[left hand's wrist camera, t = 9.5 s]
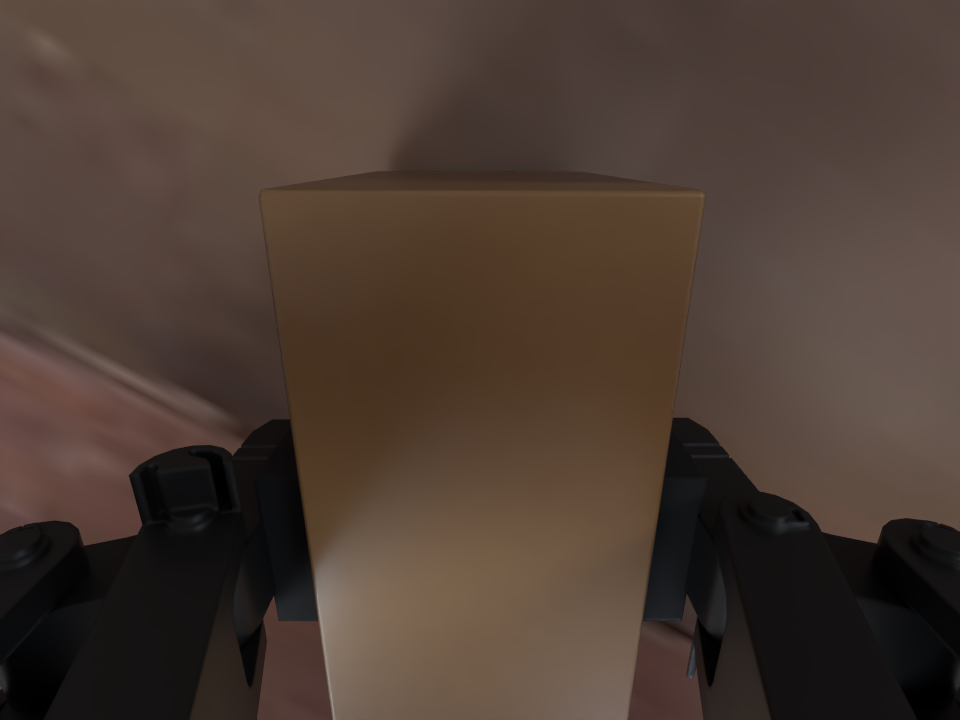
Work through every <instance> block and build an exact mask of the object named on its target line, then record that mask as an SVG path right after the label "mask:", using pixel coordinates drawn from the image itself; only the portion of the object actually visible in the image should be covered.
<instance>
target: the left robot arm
mask: <svg viewBox="0 0 960 720" xmlns="http://www.w3.org/2000/svg"><path fill="white" fill-rule="evenodd" d="M129 477H130V481H131V485H132V488H133V492H134V496H135V499H136V503H137V506H138V510H139V514H140V517H141V521H142V524H143V525H142V527H141V529H140V531H139V533H138V535H135V536H131V537H127V538H122V539H117V540H112V541H107V542H102V543H97V544H92V545H87V546H84V544H83V541H82V538H81V535H80V532H79V529H78V528H76V527H75V526H74V525H73V524H71V523H69V522H61V521H48V522H40V523H32V524H27V525H24V526H23V527H21V526H20V527H17V528H14V529H11V530H8V531H7V532H5V533H3V534H1V535H0V685H1V688H2V689H1V690H0V720H257V713H258V706H259V698H260V690H261V682H262V675H263V667H264V659H265V652H266V644H267V639H266V632H265V626H264V621H263V617H264V615H265V613H266V611H267V609H268V607H269V604H270V602H271V600H272V598H273V596H274V597H275V603H276V609H277V614H278V620H279V621H318V614H317V607H316V600H315V592H314V585H313V578H312V571H311V564H310V557H309V550H308V543H307V536H306V529H305V521H304V514H303V507H302V500H301V493H300V486H299V479H298V472H297V465H296V458H295V450H294V443H293V436H292V429H291V422H290V420H271V421H269V422H268V423H266V424H264V425H263V426H261V427H259V428H258V429H256V430H254V431H253V432H252V433H251V434H250V435H249V437H248V438H247V439H246V440H245V442H244V443H243V444H242V445H241V448H239V449H238V450H237V451H236V452H235V454H234V455H233V456H232V455H231V453H230V452H228V451H227V450H226V449H224V448H221V447H216V446H212V445H199V446H189V447H184V448H178V449H173V450H171V451H168V452H165V453H162V454H160V455H157V456H154V457H153V458H151V459H149V460H147V461H146V462H144V463H142V464H140V465H139V466H138V467H137V468H136V469H135V470H134V471H133V472H132V473H131V474H130V475H129ZM686 594H687V595H688V597H689V599H690V601H691V603H692V605H693V607H694V609H695V612H696V614H697V621H696V626H695V631H694V636H693V642H692V647H691V652H690V657H689V662H688V669H687V676H686V677H690V678H694V675H695V670H696V666H697V674H698V681H699V689H700V697H701V704H702V712H703V719H704V720H960V532H959V531H957V530H956V529H954V528H952V527H949V526H946V525H943V524H938V523H937V522H932V521H927V520H917V519H909V518H904V519H897V520H891V521H889V522H888V523H887V524H886V525H884V526H883V528H882V531H881V534H880V537H879V540H878V543H877V544H876V543H871V542H866V541H861V540H856V539H851V538H846V537H841V536H836V535H831V534H827V533H823V532H821V530H820V528H819V526H818V524H817V523H816V521H815V520H814V519H813V518H812V517H811V515H810V514H809V513H808V512H806V511H805V510H803V509H802V508H801V507H799V506H798V505H796V504H795V503H793V502H791V501H788V500H786V499H783V498H781V497H779V496H776V495H773V494H768V493H764V492H760V491H758V489H757V488H756V487H755V486H754V485H753V483H752V482H751V481H750V480H749V479H748V477H747V476H746V475H745V474H744V473H743V471H742V470H741V469H740V468H739V467H738V465H737V464H736V463H735V462H734V461H733V459H732V458H729V455H728V453H727V452H726V451H725V450H724V449H723V447H722V446H719V443H718V441H717V440H716V439H715V438H714V436H713V435H712V434H711V433H710V432H709V430H707V429H706V428H704V427H703V426H701V425H699V424H698V423H696V422H694V421H693V420H691V419H689V418H673V419H672V426H671V433H670V440H669V446H668V453H667V460H666V467H665V473H664V480H663V487H662V494H661V500H660V507H659V514H658V521H657V527H656V534H655V541H654V548H653V554H652V561H651V568H650V575H649V581H648V588H647V595H646V602H645V608H644V615H643V621H682V616H683V610H684V605H685V599H686Z"/></svg>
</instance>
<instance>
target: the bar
mask: <svg viewBox="0 0 960 720" xmlns="http://www.w3.org/2000/svg"><path fill="white" fill-rule="evenodd" d="M259 202H260V209H261V216H262V223H263V230H264V237H265V244H266V252H267V259H268V266H269V273H270V280H271V287H272V294H273V301H274V308H275V315H276V323H277V330H278V337H279V344H280V351H281V358H282V365H283V372H284V379H285V387H286V394H287V401H288V408H289V415H290V422H291V429H292V436H293V443H294V450H295V458H296V465H297V472H298V479H299V486H300V493H301V500H302V507H303V514H304V521H305V529H306V536H307V543H308V550H309V557H310V564H311V571H312V578H313V585H314V592H315V600H316V607H317V614H318V621H319V628H320V635H321V642H322V649H323V656H324V663H325V671H326V678H327V685H328V692H329V699H330V706H331V713H332V720H628V717H629V710H630V703H631V696H632V690H633V683H634V676H635V669H636V662H637V656H638V649H639V642H640V635H641V629H642V622H643V615H644V608H645V602H646V595H647V588H648V581H649V575H650V568H651V561H652V554H653V548H654V541H655V534H656V527H657V521H658V514H659V507H660V500H661V494H662V487H663V480H664V473H665V467H666V460H667V453H668V446H669V440H670V433H671V426H672V419H673V413H674V406H675V399H676V392H677V386H678V379H679V372H680V365H681V359H682V352H683V345H684V338H685V332H686V325H687V318H688V311H689V305H690V298H691V291H692V284H693V278H694V271H695V264H696V257H697V251H698V244H699V237H700V230H701V224H702V217H703V210H704V203H705V193H704V192H703V191H701V190H697V189H690V188H684V187H677V186H671V185H664V184H657V183H651V182H644V181H638V180H631V179H625V178H618V177H612V176H605V175H599V174H592V173H586V172H452V171H376V172H370V173H364V174H357V175H351V176H345V177H338V178H332V179H325V180H319V181H313V182H306V183H300V184H294V185H287V186H281V187H274V188H268V189H264V190H262V191H260V193H259Z"/></svg>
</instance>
